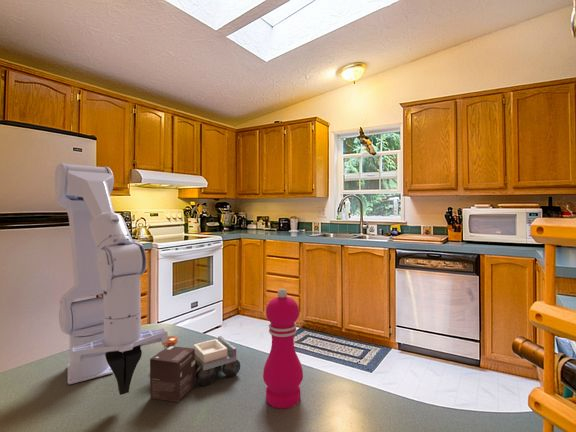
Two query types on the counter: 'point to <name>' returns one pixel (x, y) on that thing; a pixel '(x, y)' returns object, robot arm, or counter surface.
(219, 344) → the tray
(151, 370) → the box
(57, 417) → the counter surface
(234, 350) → the trolley
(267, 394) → the pepper mill
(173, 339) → the pin
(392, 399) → the counter surface
